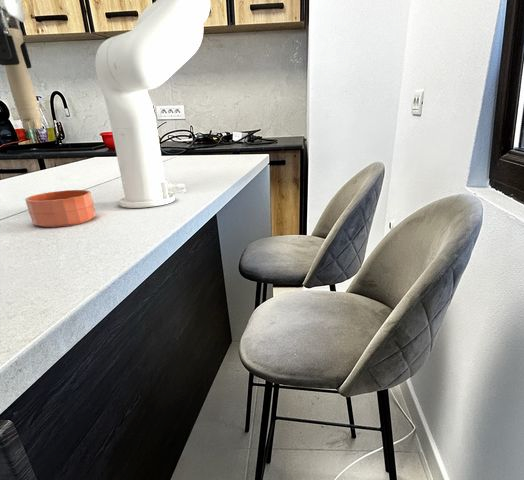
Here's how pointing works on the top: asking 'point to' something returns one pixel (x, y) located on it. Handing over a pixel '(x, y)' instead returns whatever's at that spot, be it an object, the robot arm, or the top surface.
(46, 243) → the top surface
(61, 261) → the top surface
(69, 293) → the top surface
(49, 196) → the bowl
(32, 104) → the handle
